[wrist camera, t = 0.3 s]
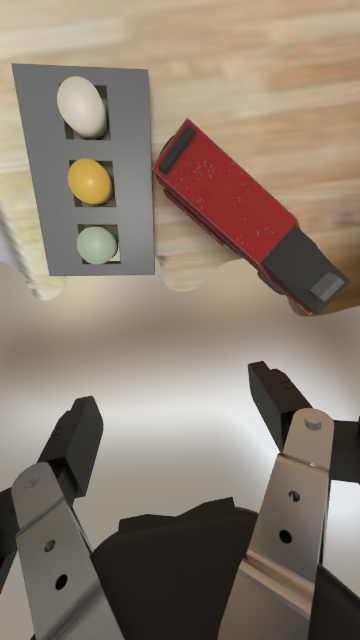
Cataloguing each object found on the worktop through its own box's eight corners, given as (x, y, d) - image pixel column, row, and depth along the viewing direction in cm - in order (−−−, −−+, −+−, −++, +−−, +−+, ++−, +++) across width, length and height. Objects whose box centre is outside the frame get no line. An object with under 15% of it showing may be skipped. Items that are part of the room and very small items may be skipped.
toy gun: (282, 302, 40) (326, 323, 25) (168, 201, 38) (145, 162, 24) (307, 276, 38) (370, 282, 24) (191, 171, 37) (182, 109, 22)
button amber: (75, 165, 30) (64, 157, 27) (111, 165, 31) (106, 158, 28) (80, 205, 32) (71, 202, 29) (115, 205, 32) (109, 202, 29)
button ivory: (65, 92, 28) (53, 75, 25) (106, 94, 28) (99, 77, 25) (71, 139, 30) (60, 129, 26) (109, 140, 30) (103, 130, 27)
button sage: (82, 226, 33) (74, 226, 30) (116, 226, 33) (112, 226, 30) (87, 260, 35) (79, 264, 31) (119, 260, 35) (115, 264, 32)
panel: (25, 79, 29) (11, 63, 26) (149, 84, 30) (147, 69, 27) (58, 272, 36) (49, 276, 34) (155, 271, 37) (154, 274, 35)
